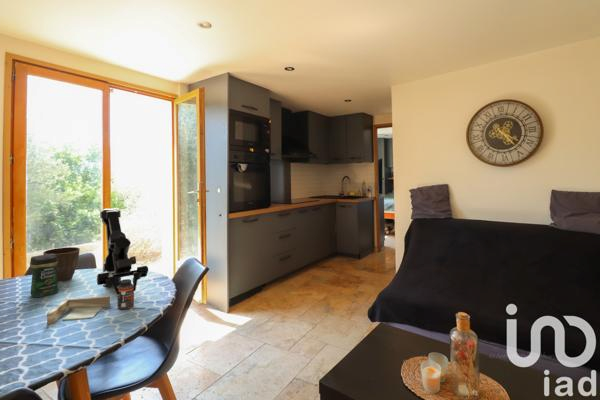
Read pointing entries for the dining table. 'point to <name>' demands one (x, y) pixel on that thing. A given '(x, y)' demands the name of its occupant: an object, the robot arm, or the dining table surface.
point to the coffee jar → (44, 275)
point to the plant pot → (65, 262)
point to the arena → (78, 308)
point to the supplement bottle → (125, 294)
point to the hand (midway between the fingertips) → (126, 292)
